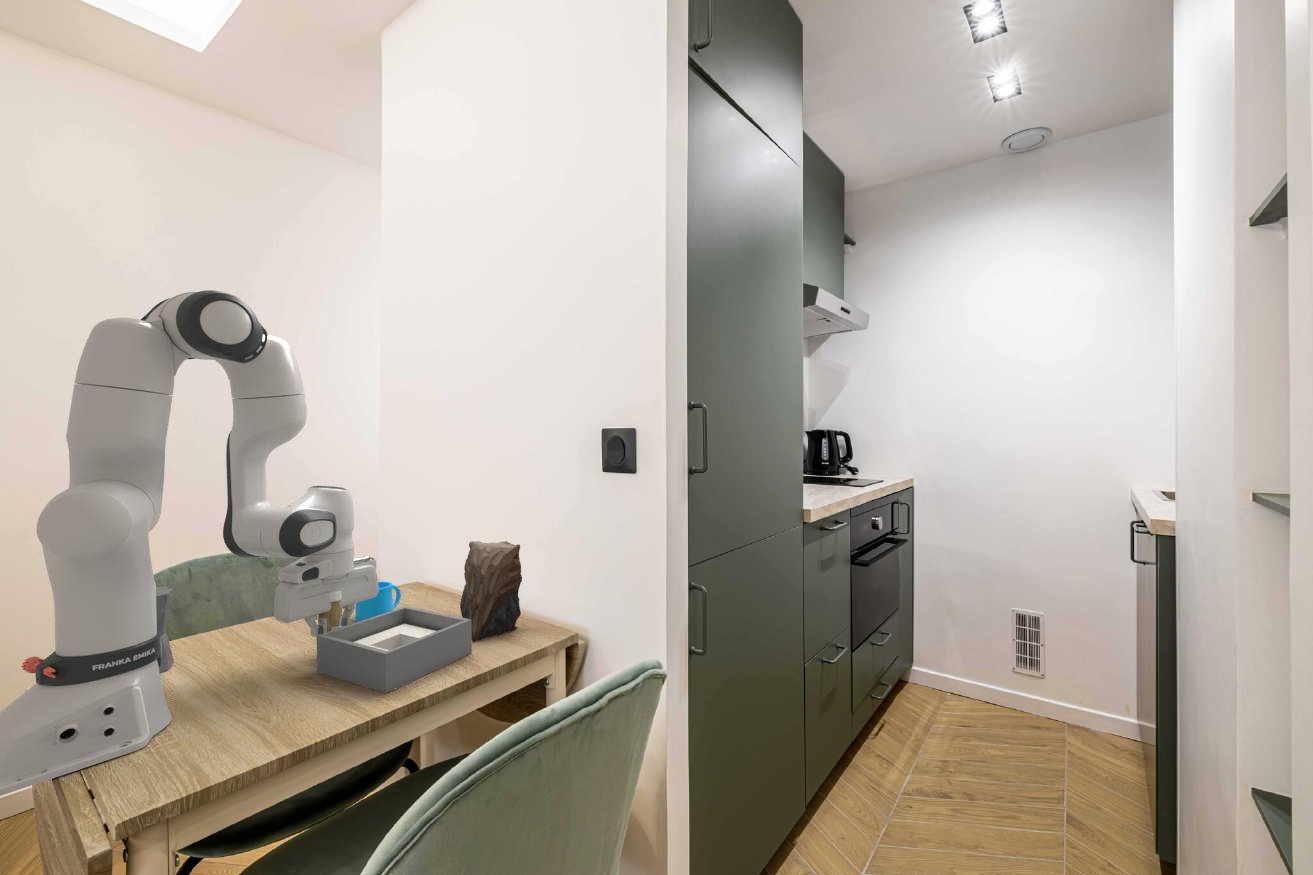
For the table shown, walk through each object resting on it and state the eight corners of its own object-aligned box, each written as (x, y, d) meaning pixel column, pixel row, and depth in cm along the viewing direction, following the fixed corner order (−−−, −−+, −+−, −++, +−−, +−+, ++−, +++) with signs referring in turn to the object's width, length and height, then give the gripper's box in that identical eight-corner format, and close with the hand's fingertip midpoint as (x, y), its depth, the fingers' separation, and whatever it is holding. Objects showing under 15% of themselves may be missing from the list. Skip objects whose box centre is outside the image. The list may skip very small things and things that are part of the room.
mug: (372, 626, 132) (371, 592, 132) (347, 622, 136) (347, 588, 136) (412, 611, 144) (411, 579, 143) (388, 607, 147) (388, 576, 147)
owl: (458, 625, 133) (457, 541, 133) (511, 616, 139) (510, 536, 139) (470, 642, 122) (469, 551, 122) (527, 631, 128) (526, 544, 128)
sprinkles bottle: (344, 656, 114) (343, 591, 114) (318, 662, 112) (317, 595, 112) (342, 649, 118) (341, 586, 118) (317, 654, 116) (316, 589, 115)
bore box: (386, 693, 98) (385, 654, 98) (317, 671, 107) (316, 635, 107) (471, 653, 116) (471, 619, 116) (406, 637, 125) (405, 606, 125)
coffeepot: (144, 658, 114) (142, 571, 114) (193, 656, 115) (192, 569, 115) (73, 694, 99) (71, 592, 98) (131, 691, 100) (129, 591, 99)
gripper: (366, 552, 125) (366, 613, 126) (268, 573, 107) (269, 644, 107) (385, 555, 123) (385, 618, 123) (287, 577, 104) (288, 650, 104)
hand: (330, 630), depth 115 cm, fingers closed on sprinkles bottle, 4 cm apart
